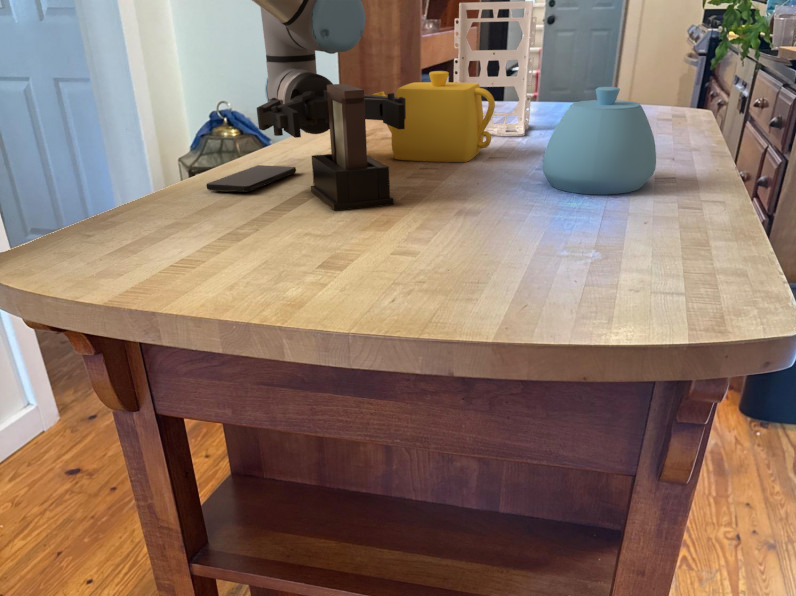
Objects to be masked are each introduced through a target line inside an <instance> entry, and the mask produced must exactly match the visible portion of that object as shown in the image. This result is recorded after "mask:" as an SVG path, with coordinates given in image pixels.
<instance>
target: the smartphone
mask: <svg viewBox="0 0 796 596" xmlns="http://www.w3.org/2000/svg"><path fill="white" fill-rule="evenodd" d="M296 172H297V168H296V167H295V166H284V165H283V166H280V165H263V164H257V165H254V166H251V167H249V168H246V169H243V170H241V171H238V172H235V173H232V174H230V175H226V176H224V177H221V178H219V179H215V180H213V181H210V182H207V183H206V190H208V191H211V192H226V193H227V192H240V193H241V192H242V193H248V192H252V191H254V190H256V189H259V188H261V187H264V186H265V185H268V184H271V183H273V182H276V181H279V180H280V179H281V180H282V179H284V178H285V177H288V176H290V175H293V174H296Z"/></svg>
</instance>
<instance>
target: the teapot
mask: <svg viewBox="0 0 796 596" xmlns="http://www.w3.org/2000/svg"><path fill="white" fill-rule="evenodd" d="M449 74H450V72H448V71H445V70H434V71H430V72H429V73H428V76H429V79H430V81H427V82H426V81H425V82H424V81H423V82H422V81H421V82H418V81H417V82H416V81H415V82H411V83H407V84H404V85H402V86H399V87H398V88H397V90H396V93H395V97H398V98H399V97H403V98H406V119H405V129H397V128H394V127H392V126H390V125H387V124H386V126H387V128H388V130H389V131H390V134H391V149H392V150H391V151H392V154H393V158H394V160H400V161H411V162H412V161H413V162H429V163H430V162H433V163H436V162H437V163H466V162H470V161H471V160H473V159H474V158H475V157H476V156H477V155H479V153H480V152H481V150H482V149H486V148H488V147H489V146H490V144H491V142H492V135H490V133H489V132H487V131H484V130H485V128H486V127H487V125H488V123H489V121H490V119H491V117H493V116H492V115H493V113H495V107H496V102H495V98H494V96H493V94H492V93H491V92H490V91H489V90H487V89H485V88H484V87H480V85H479V83H457V82H454V81H453V82H450V81H449V82H448V78H449ZM371 95H377V96H387V95H386V94H385V91H380V92H376V93H372V94H371ZM482 97H483V98H485V99H486V100H487V105H488V106H487V110H486V112H485V113H486V115H485V116H483V113H484V109H483V108H484V107H483V99H482ZM484 137H485V139H486V140H485V141H484Z"/></svg>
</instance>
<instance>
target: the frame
mask: <svg viewBox="0 0 796 596" xmlns="http://www.w3.org/2000/svg"><path fill="white" fill-rule="evenodd" d="M364 94H365V89H362V88H360V87H356V86H353V85H350V84H347V83H333V84H331V85H327V96H328V110H329V125H330V129H329V134H330V135H329V138H330V152H331V153H330V154H332V162H334V163H335V164H337V165H339V166H340V167H342V168H343V169H345V170H346V169H355V168H366V167H367V155H368V148H367V145H368V144H367V126H366V125H367V124H366V119H365V99H364Z"/></svg>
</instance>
